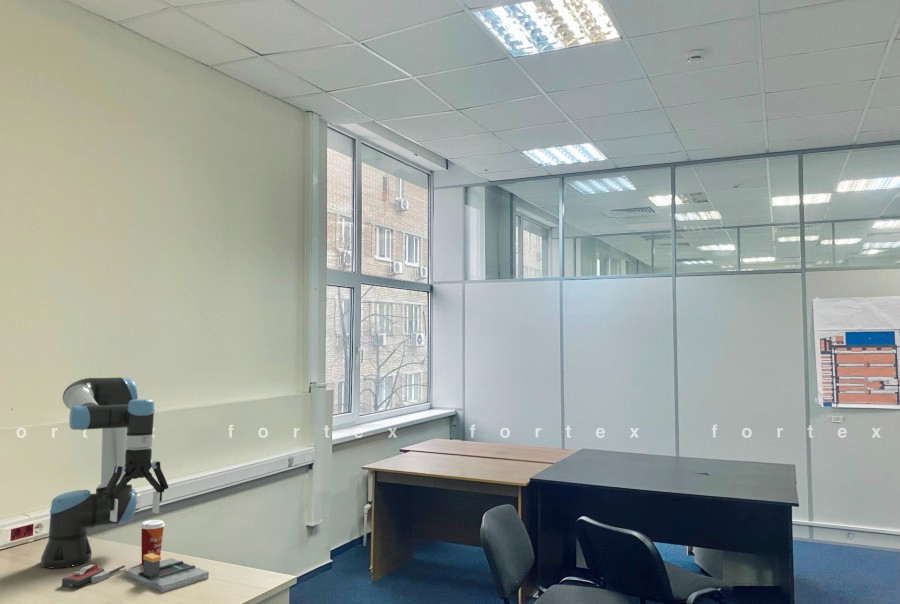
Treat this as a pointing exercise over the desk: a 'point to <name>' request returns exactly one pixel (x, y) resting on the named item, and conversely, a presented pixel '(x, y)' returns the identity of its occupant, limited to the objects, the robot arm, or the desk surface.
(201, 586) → the desk surface
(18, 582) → the desk surface
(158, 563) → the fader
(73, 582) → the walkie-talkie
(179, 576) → the console board
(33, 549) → the desk surface
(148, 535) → the paper cup
